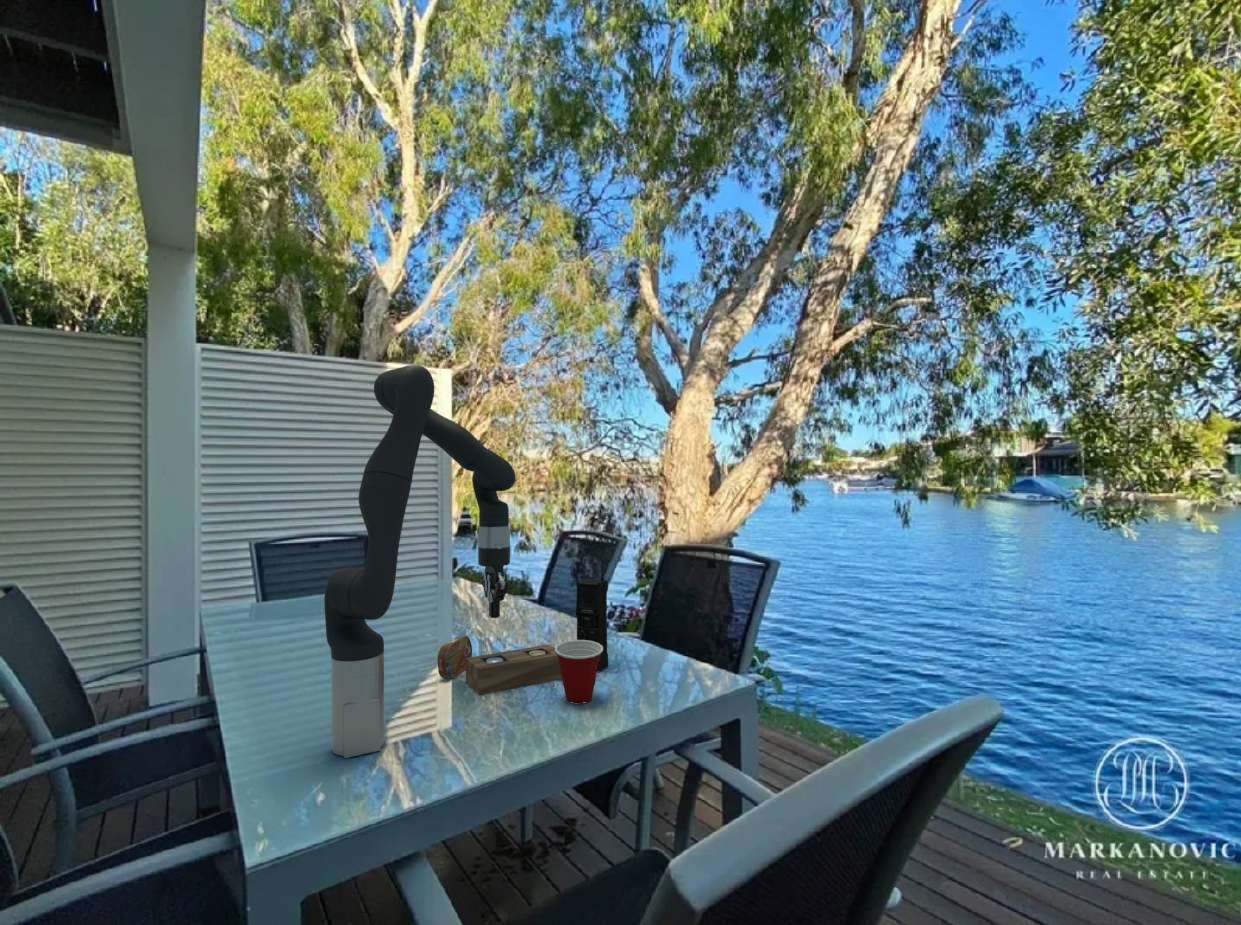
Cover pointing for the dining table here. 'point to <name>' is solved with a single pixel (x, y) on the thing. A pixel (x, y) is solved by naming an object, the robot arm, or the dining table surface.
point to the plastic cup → (578, 668)
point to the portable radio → (593, 614)
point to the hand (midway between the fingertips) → (494, 617)
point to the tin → (454, 657)
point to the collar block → (512, 669)
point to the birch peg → (536, 652)
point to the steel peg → (494, 660)
